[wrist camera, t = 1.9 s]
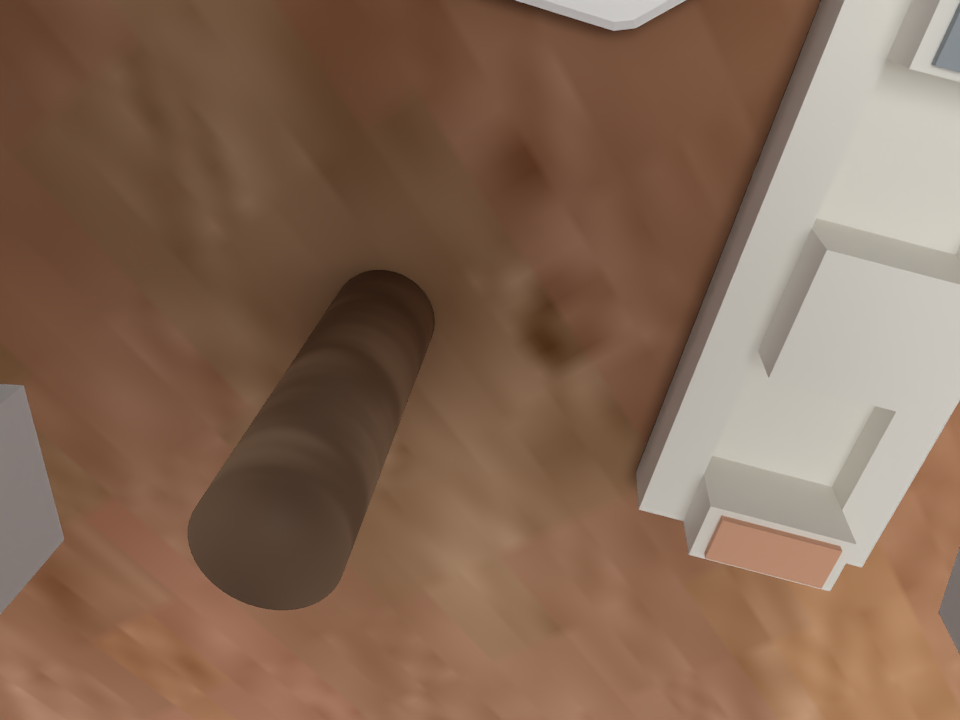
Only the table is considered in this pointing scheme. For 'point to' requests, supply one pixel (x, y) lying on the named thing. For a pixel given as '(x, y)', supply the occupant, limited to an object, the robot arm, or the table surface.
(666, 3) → the plate
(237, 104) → the table surface
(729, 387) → the socket block
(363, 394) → the dowel
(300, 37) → the table surface
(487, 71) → the table surface
